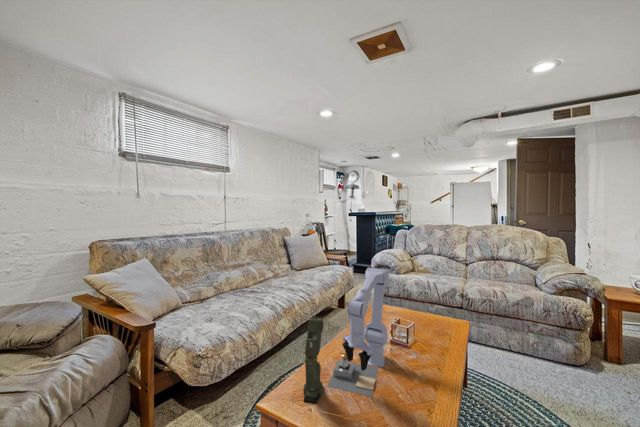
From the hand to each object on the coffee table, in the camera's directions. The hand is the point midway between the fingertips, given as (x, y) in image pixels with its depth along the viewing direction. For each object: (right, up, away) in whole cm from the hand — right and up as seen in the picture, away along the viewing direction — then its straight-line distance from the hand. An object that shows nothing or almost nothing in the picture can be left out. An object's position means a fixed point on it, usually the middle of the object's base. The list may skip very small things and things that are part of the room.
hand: (356, 364), depth 109 cm
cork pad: (+4, -10, +3) cm, 11 cm away
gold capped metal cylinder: (-4, -9, +11) cm, 15 cm away
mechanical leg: (-17, -10, -2) cm, 20 cm away
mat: (0, -10, +8) cm, 13 cm away
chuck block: (-4, -9, +11) cm, 15 cm away
